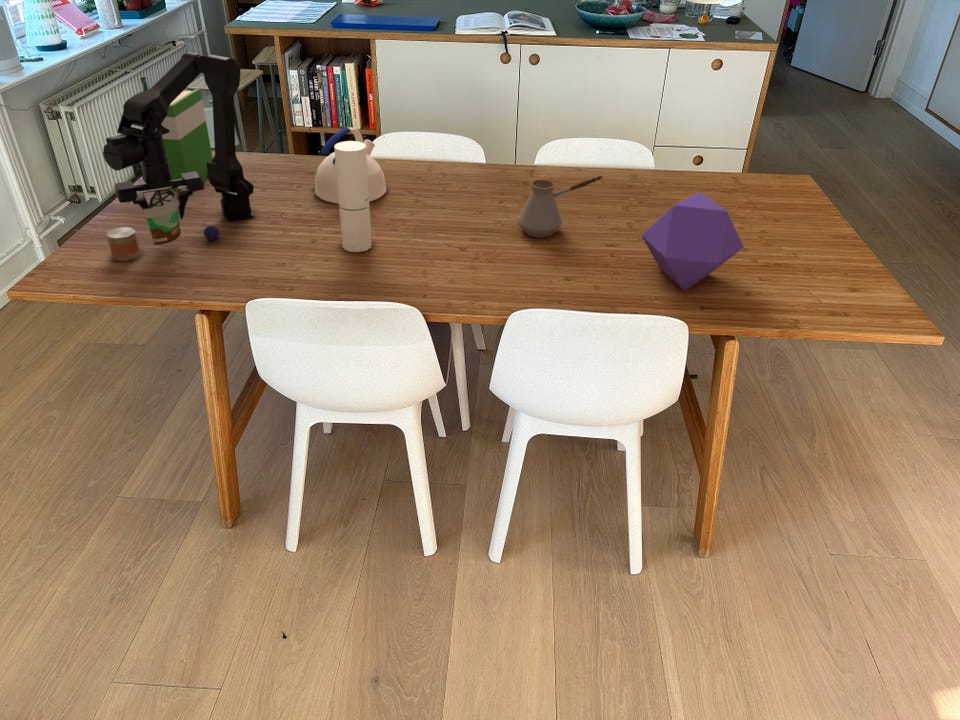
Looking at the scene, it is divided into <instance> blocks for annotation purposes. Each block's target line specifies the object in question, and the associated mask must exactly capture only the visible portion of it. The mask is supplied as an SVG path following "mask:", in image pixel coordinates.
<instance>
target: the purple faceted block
mask: <svg viewBox="0 0 960 720" xmlns="http://www.w3.org/2000/svg"><path fill="white" fill-rule="evenodd" d="M641 238H642V240H643V241H644V244H645V245H646V246H647V248H648V250H649V252H650V254H651V255H652V257H653V259H654V261H655V262H656V264H657V267H658V268H659V269H660V270H661V271H662V272H663V273H664V274H665V275H666V276H667V277H668V278H669V279H671V280H672V281H673V282H674V283H675V284H676V285H677V286H678V287H680V289H681V290H682V291H686V290H688V289H690V288H691V287H692V286H694V285H696V284H697V283H698V282H700V281H702V280H704V278H706V277H708V276H709V275H710V274H712V273H713V272H715V271H716V270H717V269H718V268H719V267H721V266H722V265H723V264H725V263H726V262H727V261H728V260H730V259H731V258H733V257H734V256H735V255H736V254H738V253H739V252H740V251H742V250H743V249H744V244H743V242H742V240H741V238H740V236H739V234H738V231H737V229H736V227H735V225H734V223H733V220H732V218H731V216H730V214H729V212H728V210H726V209H725V208H723V207H722V206H721V205H719V204H718V203H717V202H715V201H714V200H713V199H710V198H709V197H708V196H707V195H705V194H704V193H702V192H701V191H699V192H696V193H694V194H693V195H690V196H689V197H686V198H684V199H683V200H681V201H678V202H677V203H675V204H673V205H671V207H670V208H668V210H667V211H666V212H664V213H663V214H662V215H661V216H660V217H658V219H657V220H655V222H654V223H653V224H652V225H651V226H649V228H647V229H646V230H645V231H644V232H643V233H642V234H641Z"/></svg>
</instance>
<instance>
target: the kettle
mask: <svg viewBox="0 0 960 720" xmlns="http://www.w3.org/2000/svg"><path fill="white" fill-rule="evenodd" d="M349 133H352V134H353V136H354V139H355V141H357V142H362V143H364V144H365V145H366V157H367V174H368V192H369V203H370V202H373V201H376V200H378V199H380V198H382V197H383V196H384V195H385V193H386V192H387V187H386V180H385V179H386V178H385V174H384V172H383V170H382V167H381V166H380V164H379V163H378V162H377V161H376V160H375V158H373V157H372V156H371V154H372V151H373V150H374V148H375V147H376V145H375V143H374V142H373V141H372V140H370V139H368V138H367V139H364V138H363V136H362V134H361V132H360V131H359V130H358V129H357V128H354V127H343V128H342V129H340V130H339V131H337V132H336V133H334V134H333V135H332V136H331V137H329V139H328V140H327V141H326V142H325V144H324V145H323V147H322V148H321V151H320V154H321V155H328V154H329V152H330V150H331V149H332V148H333V146H335V144H336V143H337V142H338V141H339V140H340V139H341V138H342V137H344V136H345V135H348V134H349ZM314 193H315V195H316V196H317V197H318V198H319V199H320V200H323V201H325V202H327V203H331V204H336V205H339V198H338V186H337V174H336V161H335V151H334V152H331V153H330V154H329V155H328V156H327V157H325V158H324V159H323V160H322V161H321V163H320V164H319V166H318V167H317V170H316V173H315V177H314Z"/></svg>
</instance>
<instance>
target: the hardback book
mask: <svg viewBox="0 0 960 720" xmlns="http://www.w3.org/2000/svg"><path fill="white" fill-rule="evenodd" d="M201 90H202V89H201V88H195V89H193V90H184V91H183V92H182V93H181V94H180V95H179V96H178V97H177V98H176V99H175V100H174V101H173V102H172V103H171V104H170V106H169V108H168V114H167V116H166V118H165V119H164V121H163V122H162V126H164V127H165V128H167V129H169V131H170V132H169V133H166V134H163V135H162V138H163V143H164V147H165V152H166V156H167V161H168V165H169V170H170V174H171V179H172V180H175V179H181V173H187V172H194V171H196V172H197V173H199V175H200V176H201V178H202V179H203V182H204V181H205V180H206V179H208V178H207V166H206V165H207V162H211V161H212V159H213V158H214V156H213V152H212V146H211V142H210V141H211V140H210V136H209V129H208V125H207V118H206V114H205V108H204V103H203V102H204V101H203V96H202V91H201ZM172 190H173V191H174V192H175V193H176V188H173V189H172Z"/></svg>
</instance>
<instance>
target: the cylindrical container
mask: <svg viewBox="0 0 960 720" xmlns="http://www.w3.org/2000/svg"><path fill="white" fill-rule="evenodd" d="M333 146H334V148H333V149H334V152H335V161H336V174H337V186H338V198H339V204H338V209H339V221H340V222H339V223H340V232H341V233H340V234H341V245H342V249H343V250H345V251H347V252H349V253H361V252H366V251H368V250H370V249H371V248H372V230H371V226H372V225H371V213H370V212H371V211H370V209H371V208H370V202H369V192H368V174H367V157H366V145H365V144H364V142H363V143H362V142H357V141H356V140H345V141H344V140H343V141H340V142H336V143H335V144H334V145H333Z"/></svg>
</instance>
